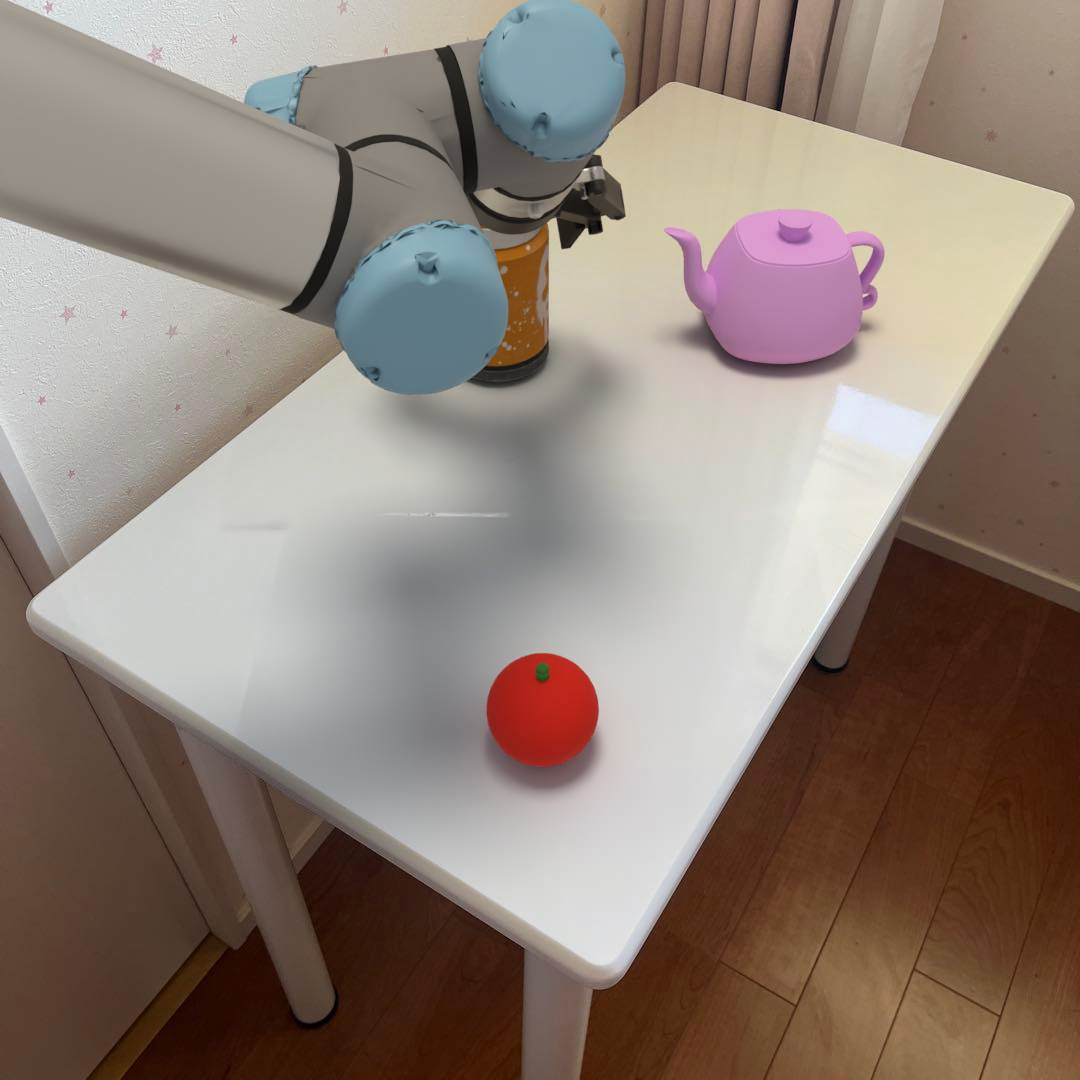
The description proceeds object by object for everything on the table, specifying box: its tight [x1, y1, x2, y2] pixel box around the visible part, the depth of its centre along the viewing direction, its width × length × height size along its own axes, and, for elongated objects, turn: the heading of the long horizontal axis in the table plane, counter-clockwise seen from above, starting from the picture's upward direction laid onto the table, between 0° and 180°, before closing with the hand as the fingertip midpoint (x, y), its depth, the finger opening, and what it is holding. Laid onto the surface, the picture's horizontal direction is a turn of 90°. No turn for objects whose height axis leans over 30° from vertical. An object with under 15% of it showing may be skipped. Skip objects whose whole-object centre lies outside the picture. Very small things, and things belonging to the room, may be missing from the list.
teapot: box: [663, 208, 886, 365], centre depth 97 cm, size 20×13×12 cm, turn 96°
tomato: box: [486, 652, 600, 768], centre depth 68 cm, size 7×7×8 cm
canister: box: [471, 222, 550, 383], centre depth 91 cm, size 9×11×20 cm
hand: (482, 243), depth 91 cm, fingers open, 13 cm apart
